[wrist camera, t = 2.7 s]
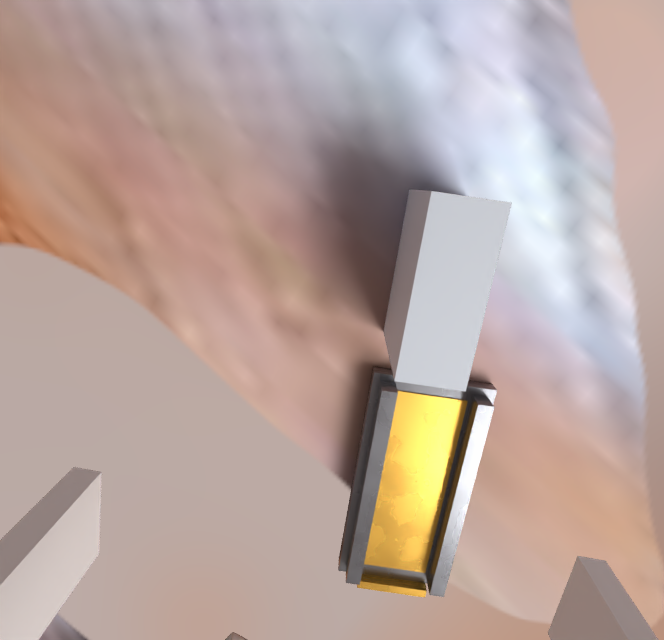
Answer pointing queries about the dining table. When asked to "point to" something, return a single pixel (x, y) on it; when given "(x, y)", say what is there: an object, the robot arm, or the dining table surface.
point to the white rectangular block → (442, 286)
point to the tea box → (235, 637)
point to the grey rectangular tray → (413, 483)
